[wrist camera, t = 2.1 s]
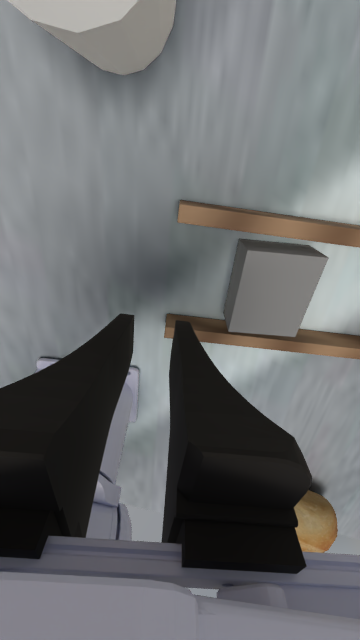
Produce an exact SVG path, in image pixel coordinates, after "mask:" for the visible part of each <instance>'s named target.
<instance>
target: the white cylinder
mask: <svg viewBox="0 0 360 640" xmlns="http://www.w3.org/2000/svg"><path fill="white" fill-rule="evenodd" d="M7 1H9V2H10V3H11V4H12V5H14V6H15V7H16V8H17V9H18V10H20V11H21V12H22V13H23V14H24V15H26V16H27V17H28V18H29V19H30V20H32V21H33V22H35V23H36V24H37V25H39V26H40V27H42V28H43V29H45V30H46V31H47V32H49V33H50V34H52V35H53V36H55V37H56V38H57V39H59V40H60V41H62V42H63V43H65V44H66V45H67V46H69V47H70V48H72V49H73V50H75V51H76V52H77V53H79V54H80V55H82V56H83V57H84V58H86V59H87V60H89V61H90V62H92V63H93V64H94V65H96V66H97V67H99V68H100V69H102V70H105V71H108V72H112V73H116V74H119V75H123V76H124V75H127V74H131V73H135V72H138V71H142V70H144V69H145V68H146V67H147V66H148V65H149V64H150V63H151V62H152V61H154V60H155V59H156V58H157V57H158V56H159V55H160V54H161V52H162V50H163V48H164V45H165V43H166V41H167V39H168V36H169V34H170V32H171V30H172V27H173V23H174V15H175V7H176V0H7Z"/></svg>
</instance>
